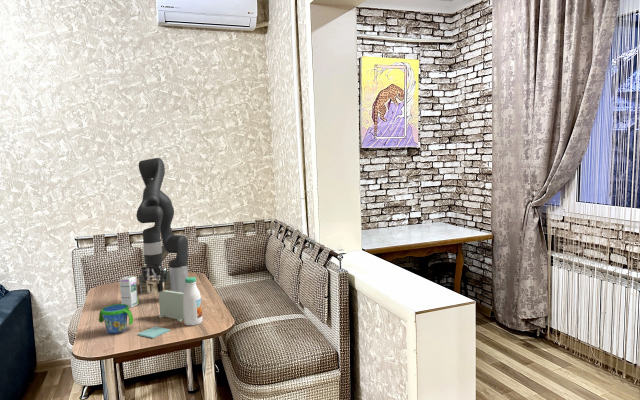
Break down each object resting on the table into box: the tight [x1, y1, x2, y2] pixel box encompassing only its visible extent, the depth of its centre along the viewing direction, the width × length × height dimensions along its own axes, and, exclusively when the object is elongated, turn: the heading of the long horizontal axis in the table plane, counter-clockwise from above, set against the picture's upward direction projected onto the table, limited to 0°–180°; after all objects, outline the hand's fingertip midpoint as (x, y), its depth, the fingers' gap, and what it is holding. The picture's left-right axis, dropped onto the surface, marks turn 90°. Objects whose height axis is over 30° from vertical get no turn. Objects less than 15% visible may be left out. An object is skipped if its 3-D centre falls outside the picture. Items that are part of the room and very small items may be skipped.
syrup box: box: [119, 275, 140, 309], centre depth 225 cm, size 6×6×14 cm
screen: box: [158, 290, 184, 322], centre depth 205 cm, size 5×16×12 cm, turn 61°
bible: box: [138, 244, 171, 296], centre depth 258 cm, size 23×20×25 cm
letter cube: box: [146, 279, 164, 295], centre depth 196 cm, size 5×5×5 cm
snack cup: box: [98, 303, 134, 334], centre depth 191 cm, size 16×10×10 cm
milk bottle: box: [183, 276, 203, 326], centre depth 196 cm, size 8×8×20 cm
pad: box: [137, 326, 171, 339], centre depth 187 cm, size 9×9×1 cm
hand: (155, 290), depth 196 cm, fingers closed on letter cube, 5 cm apart
